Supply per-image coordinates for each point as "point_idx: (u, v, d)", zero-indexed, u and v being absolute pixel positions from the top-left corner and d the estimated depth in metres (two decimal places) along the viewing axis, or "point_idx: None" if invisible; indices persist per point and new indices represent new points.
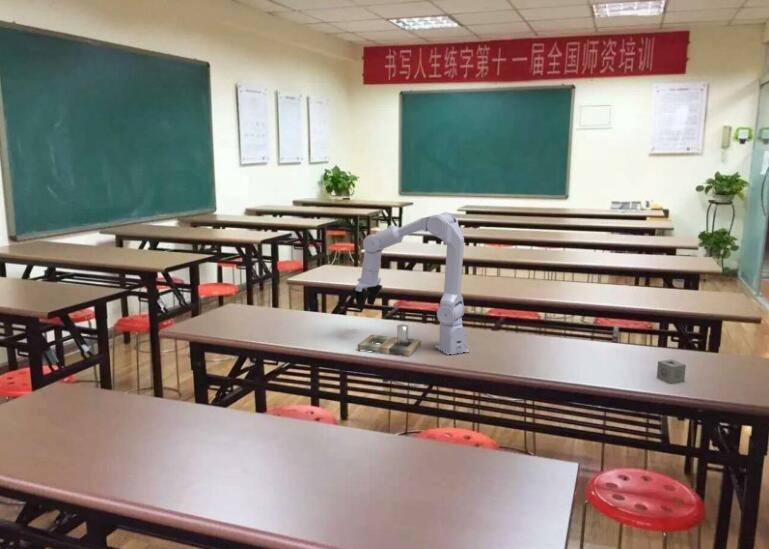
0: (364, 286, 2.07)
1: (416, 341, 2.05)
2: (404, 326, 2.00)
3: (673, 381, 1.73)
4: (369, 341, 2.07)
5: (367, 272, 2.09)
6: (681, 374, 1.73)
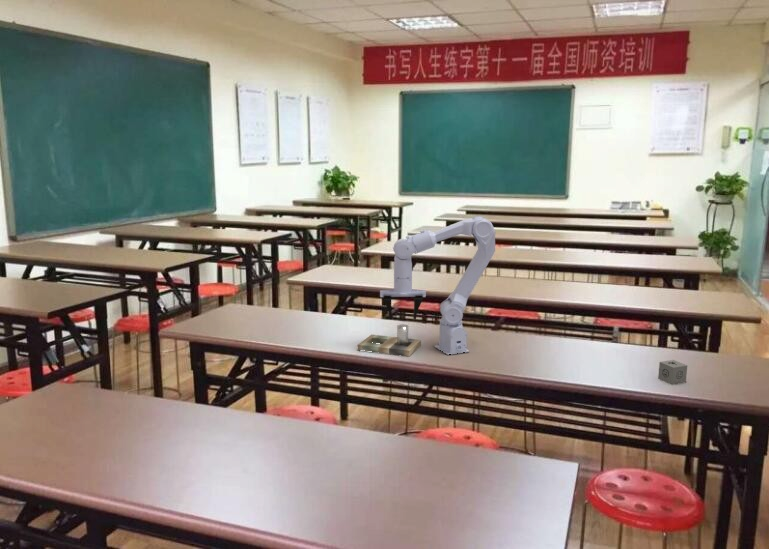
0: None
1: (416, 341, 2.05)
2: (404, 326, 2.00)
3: (675, 382, 1.72)
4: (369, 341, 2.07)
5: (411, 278, 1.98)
6: (683, 375, 1.73)
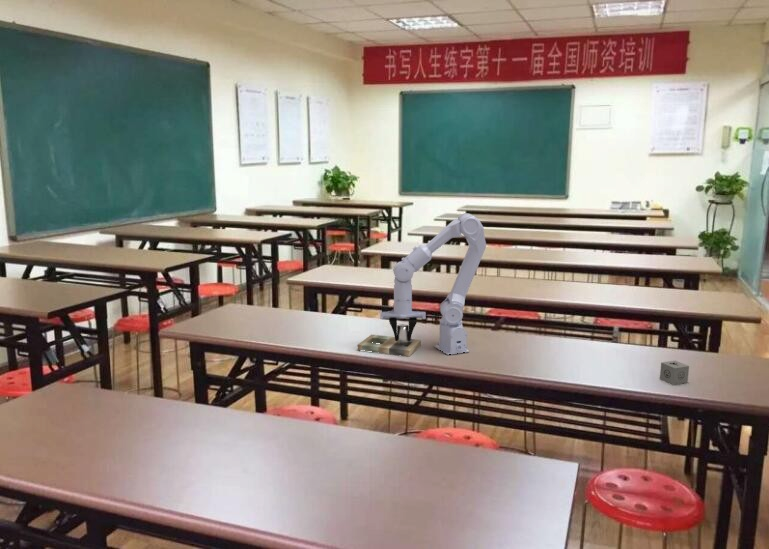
0: None
1: (416, 341, 2.05)
2: (404, 326, 2.00)
3: (677, 383, 1.72)
4: (369, 341, 2.07)
5: None
6: (684, 375, 1.72)
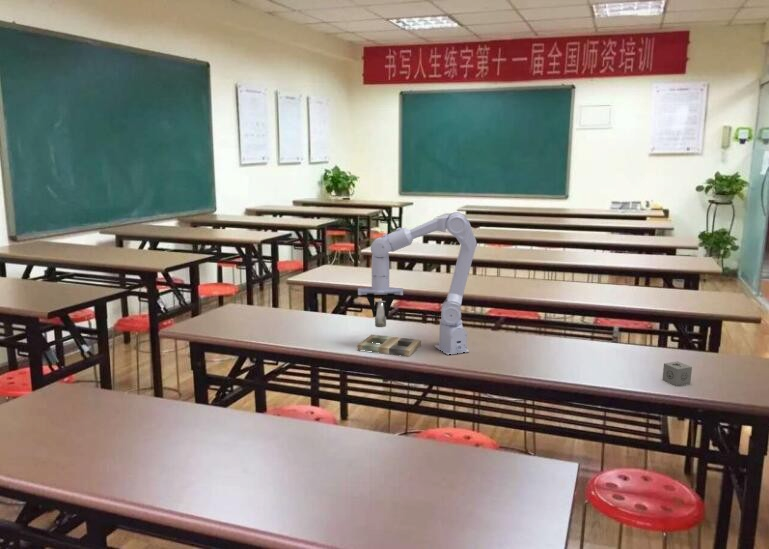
0: None
1: (416, 341, 2.05)
2: (382, 302, 2.02)
3: (680, 384, 1.71)
4: (369, 341, 2.07)
5: None
6: (687, 376, 1.72)
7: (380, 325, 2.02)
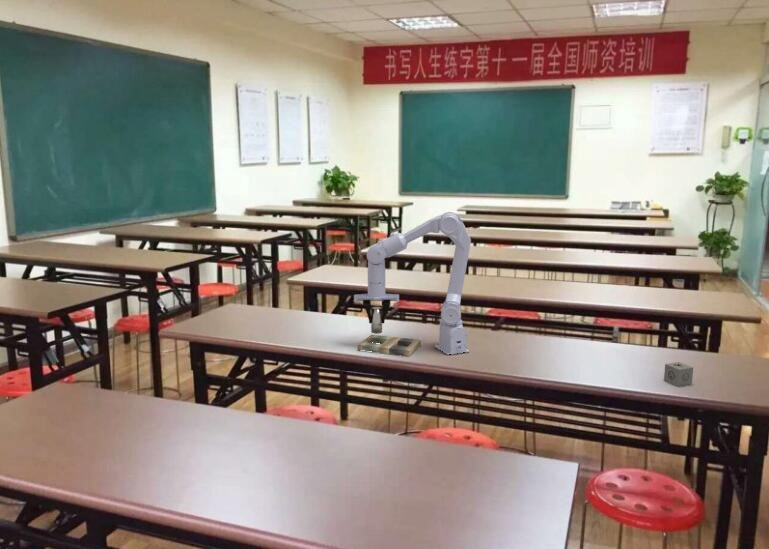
0: None
1: (416, 341, 2.05)
2: (378, 308, 2.02)
3: (681, 384, 1.71)
4: (369, 341, 2.07)
5: None
6: (689, 377, 1.71)
7: (376, 331, 2.03)
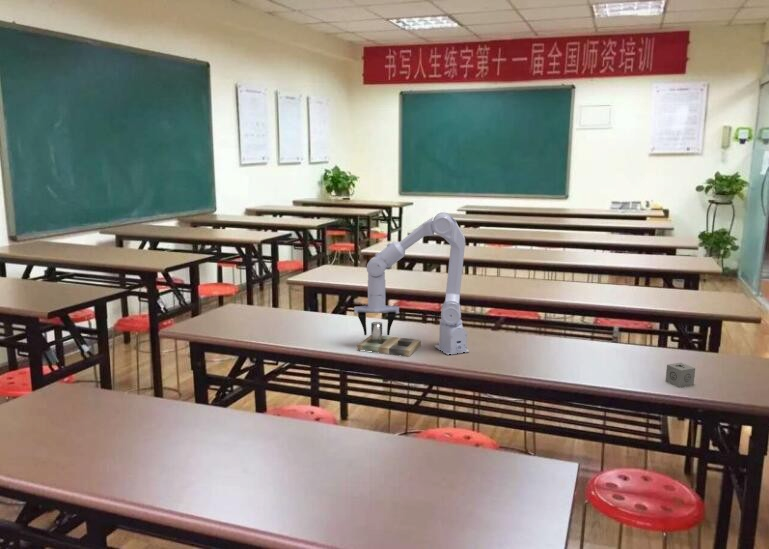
0: None
1: (416, 341, 2.05)
2: (378, 323, 2.03)
3: (683, 385, 1.70)
4: (369, 341, 2.07)
5: None
6: (690, 377, 1.71)
7: None
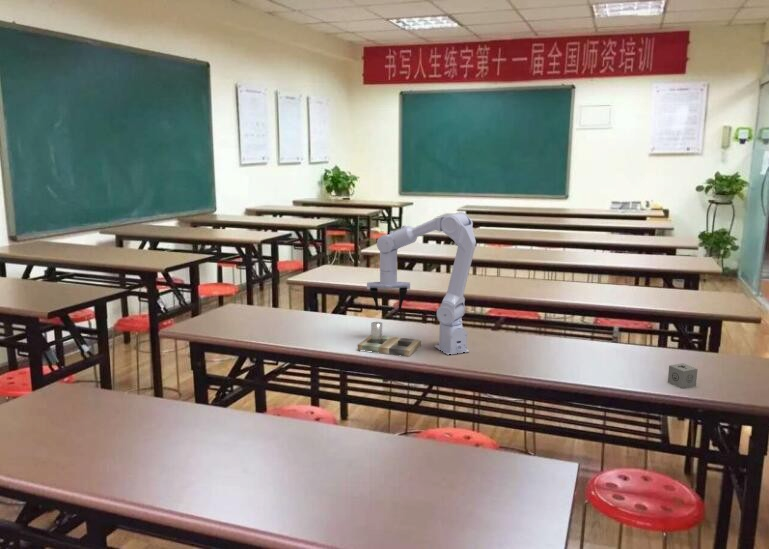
0: None
1: (416, 341, 2.05)
2: (378, 323, 2.03)
3: (685, 386, 1.70)
4: (369, 341, 2.07)
5: (396, 271, 2.10)
6: (693, 378, 1.70)
7: None
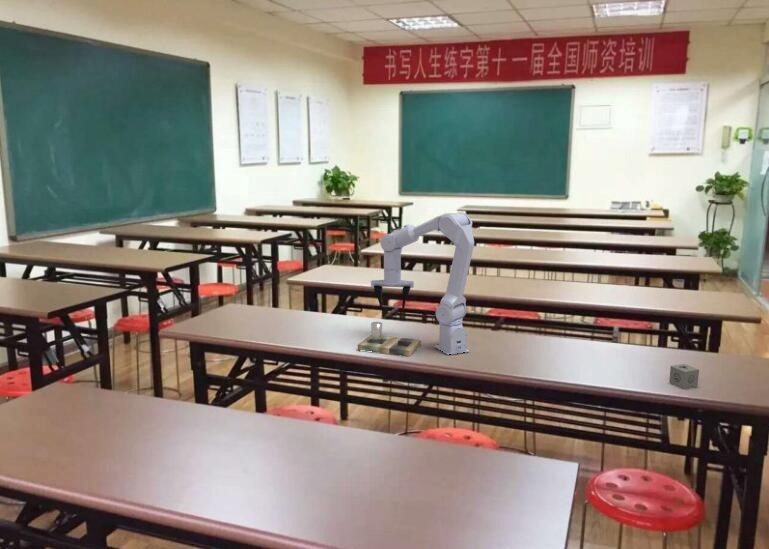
0: None
1: (416, 341, 2.05)
2: (378, 323, 2.03)
3: (687, 386, 1.69)
4: (369, 341, 2.07)
5: (400, 270, 2.12)
6: (694, 379, 1.70)
7: None
